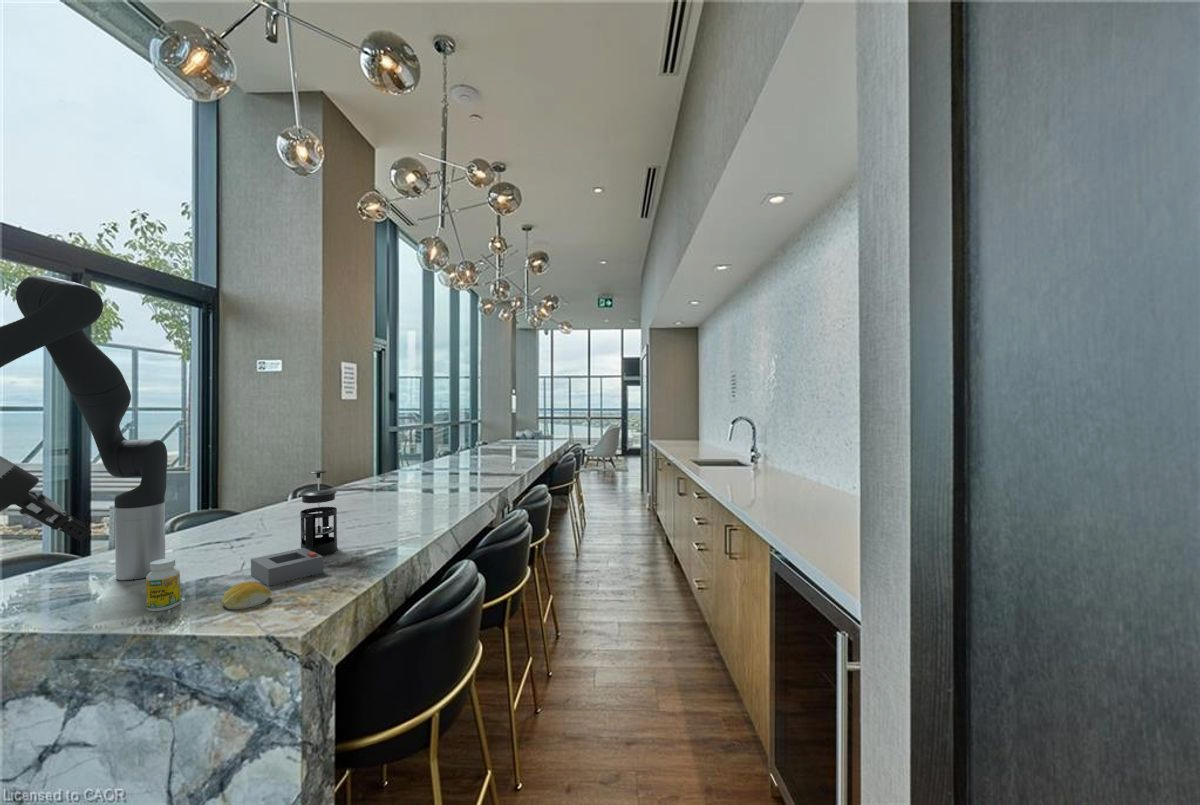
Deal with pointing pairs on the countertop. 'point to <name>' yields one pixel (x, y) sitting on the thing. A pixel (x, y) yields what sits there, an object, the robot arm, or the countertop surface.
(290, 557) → the socket block
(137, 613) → the countertop surface
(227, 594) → the bread roll
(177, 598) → the supplement bottle
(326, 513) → the french press
